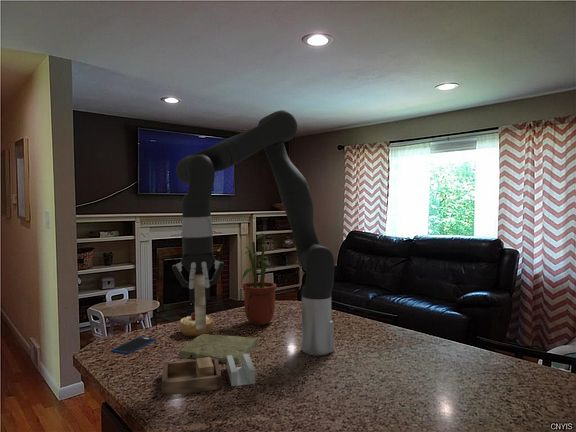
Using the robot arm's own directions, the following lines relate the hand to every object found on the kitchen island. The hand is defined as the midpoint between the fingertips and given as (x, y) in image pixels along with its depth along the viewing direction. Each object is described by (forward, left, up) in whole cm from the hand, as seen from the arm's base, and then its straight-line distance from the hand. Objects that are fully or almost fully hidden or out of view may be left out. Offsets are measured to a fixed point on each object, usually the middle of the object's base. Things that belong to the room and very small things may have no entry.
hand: (199, 301), depth 101 cm
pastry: (0, -42, -21) cm, 47 cm away
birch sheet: (0, 0, -6) cm, 6 cm away
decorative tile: (-6, -20, -22) cm, 30 cm away
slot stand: (-10, 0, -21) cm, 24 cm away
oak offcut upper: (-1, 0, -18) cm, 18 cm away
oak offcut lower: (-1, 0, -20) cm, 20 cm away
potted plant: (-22, -48, -21) cm, 57 cm away
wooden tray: (+2, 0, -21) cm, 21 cm away
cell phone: (+20, -34, -22) cm, 45 cm away
